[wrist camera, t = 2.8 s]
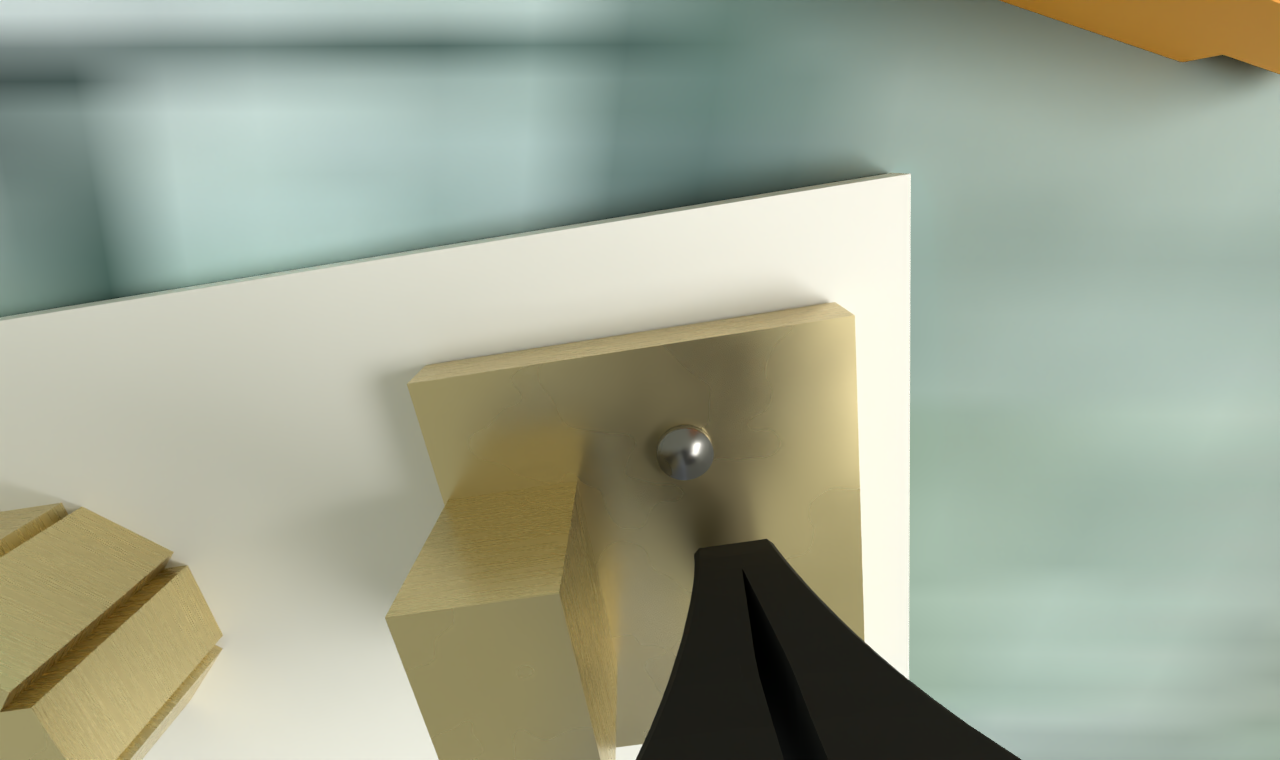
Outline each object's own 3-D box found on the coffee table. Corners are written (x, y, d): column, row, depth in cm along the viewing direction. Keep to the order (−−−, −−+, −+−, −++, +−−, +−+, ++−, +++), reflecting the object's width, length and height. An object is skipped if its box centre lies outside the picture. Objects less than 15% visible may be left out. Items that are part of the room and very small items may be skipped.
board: (895, 755, 16) (908, 784, 15) (-86, 880, 17) (-119, 913, 16) (890, 172, 11) (910, 173, 10) (-515, 400, 12) (-593, 416, 11)
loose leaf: (850, 677, 14) (933, 870, 10) (530, 719, 14) (494, 922, 10) (834, 302, 11) (946, 376, 7) (425, 365, 11) (320, 470, 7)
